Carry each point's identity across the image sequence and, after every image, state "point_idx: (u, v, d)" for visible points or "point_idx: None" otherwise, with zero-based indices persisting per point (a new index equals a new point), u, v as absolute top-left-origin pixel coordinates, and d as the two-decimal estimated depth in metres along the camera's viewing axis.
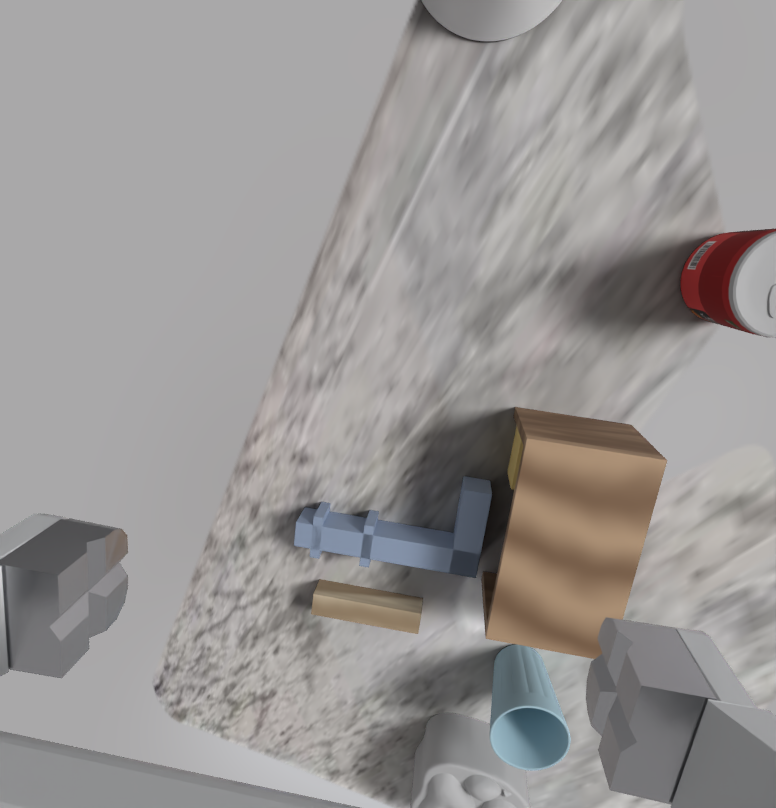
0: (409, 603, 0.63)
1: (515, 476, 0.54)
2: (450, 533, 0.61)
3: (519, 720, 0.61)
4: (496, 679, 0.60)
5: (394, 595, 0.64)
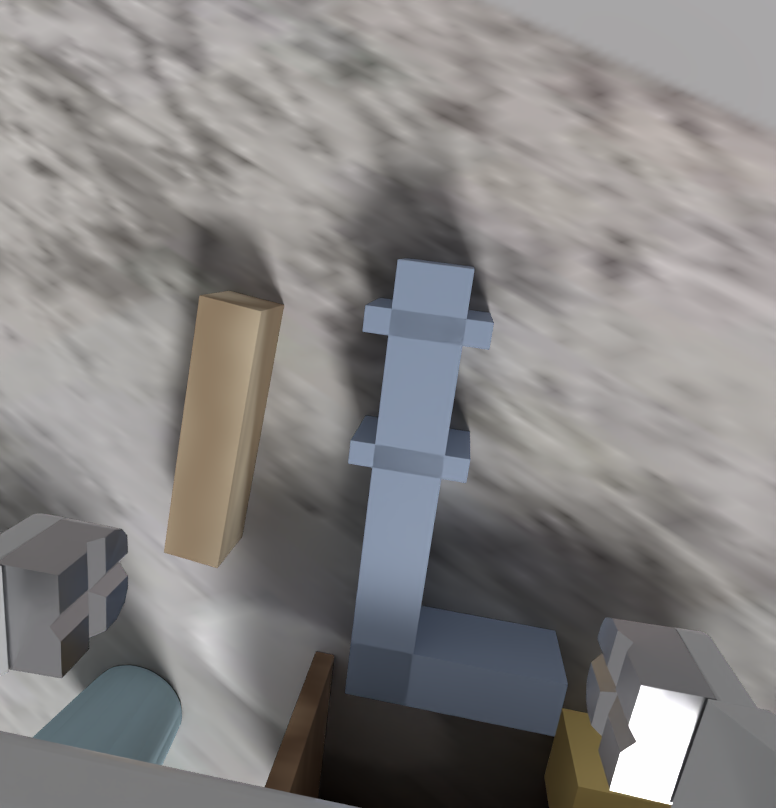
0: (234, 526, 0.27)
1: (610, 795, 0.24)
2: None
3: None
4: (108, 729, 0.27)
5: (248, 483, 0.27)
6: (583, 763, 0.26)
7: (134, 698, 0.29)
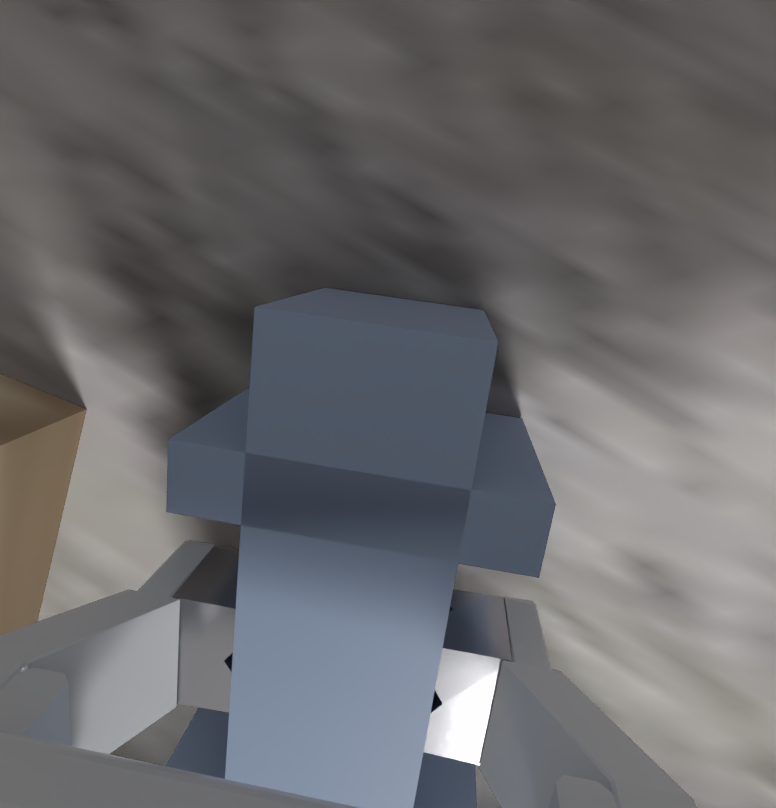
0: None
1: None
2: None
3: None
4: None
5: None
6: None
7: None
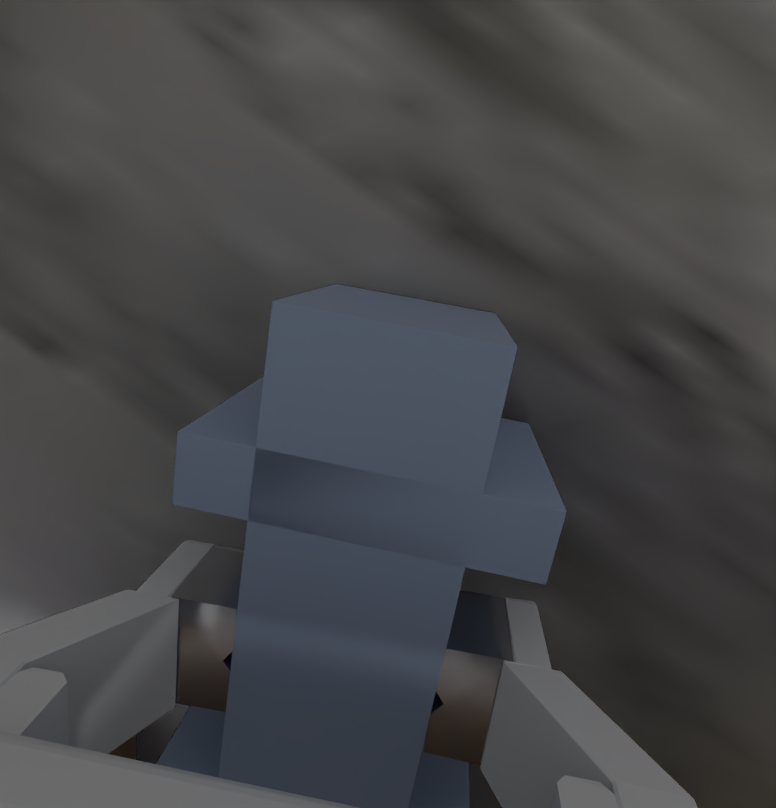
0: None
1: None
2: None
3: None
4: None
5: None
6: None
7: None
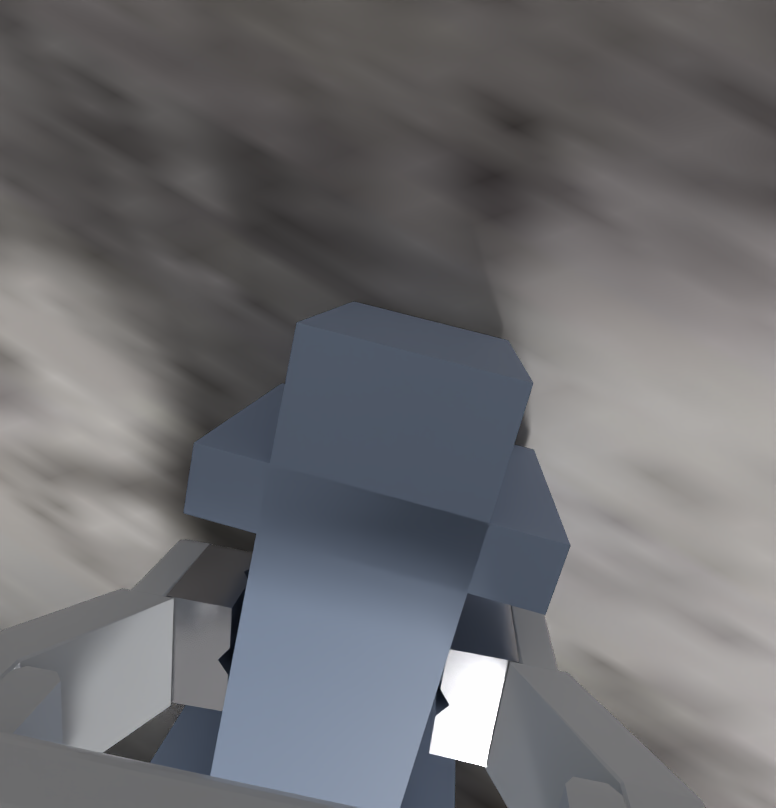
0: None
1: None
2: None
3: None
4: None
5: None
6: None
7: None
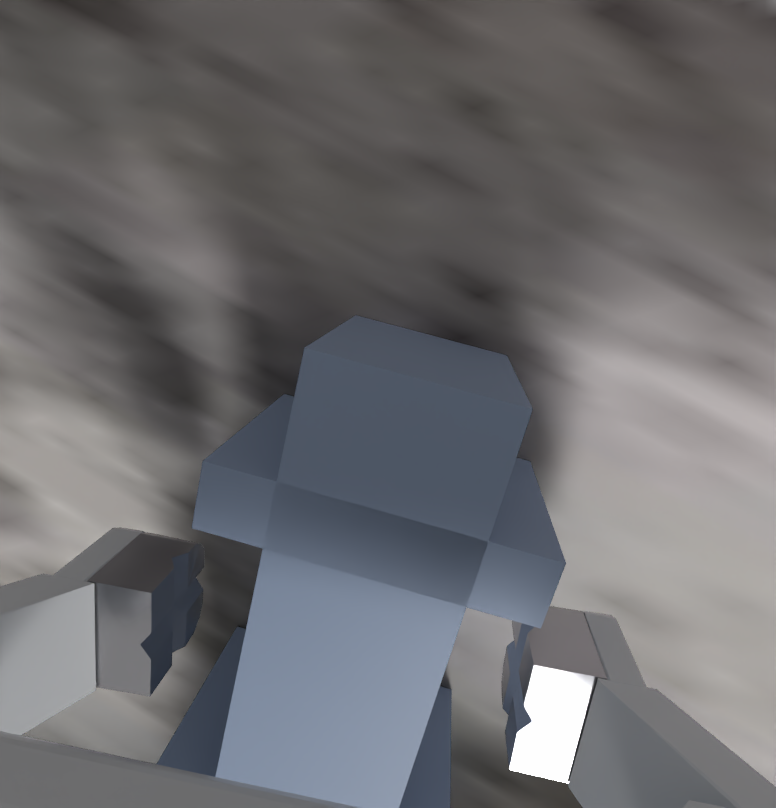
0: None
1: None
2: None
3: None
4: None
5: None
6: None
7: None
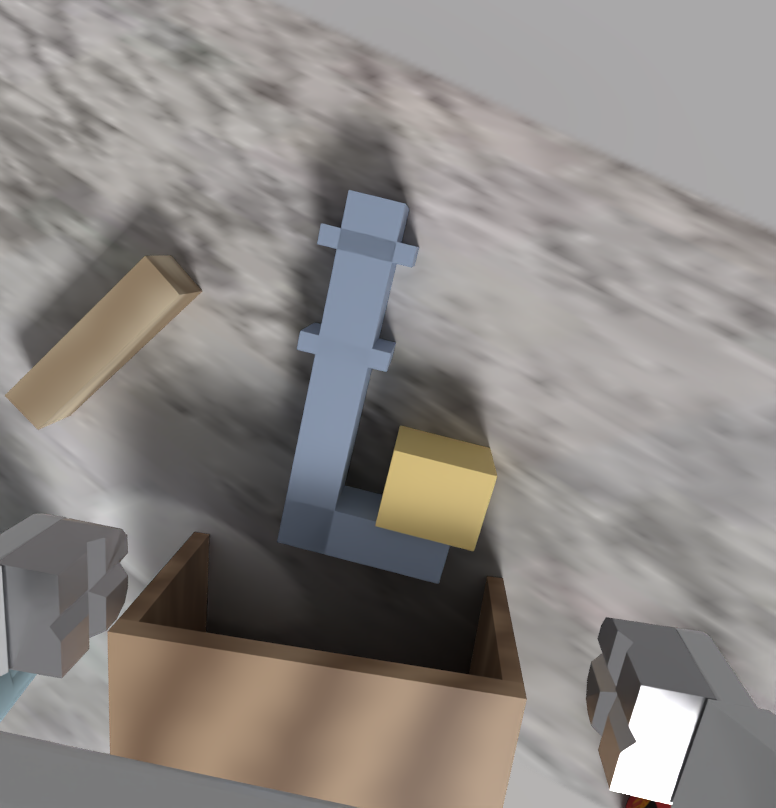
0: (69, 408, 0.34)
1: (419, 458, 0.29)
2: (345, 481, 0.35)
3: None
4: None
5: (98, 385, 0.34)
6: (404, 444, 0.31)
7: None
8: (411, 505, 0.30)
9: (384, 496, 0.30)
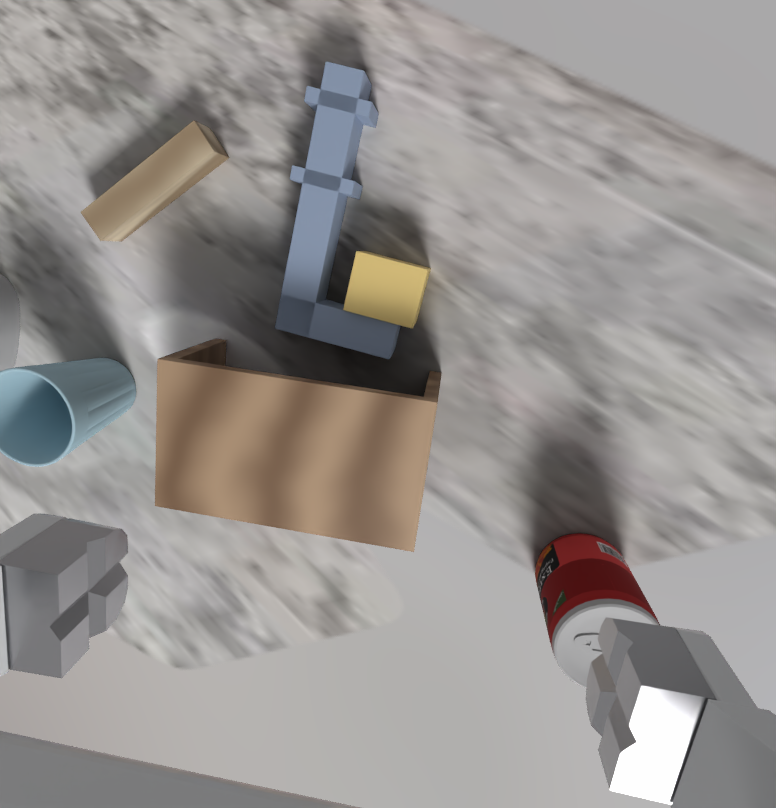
0: (123, 231, 0.47)
1: (373, 257, 0.42)
2: (325, 295, 0.47)
3: (39, 396, 0.48)
4: (89, 366, 0.47)
5: (145, 219, 0.47)
6: (365, 252, 0.43)
7: (105, 364, 0.49)
8: (368, 293, 0.43)
9: (349, 286, 0.43)
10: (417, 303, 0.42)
